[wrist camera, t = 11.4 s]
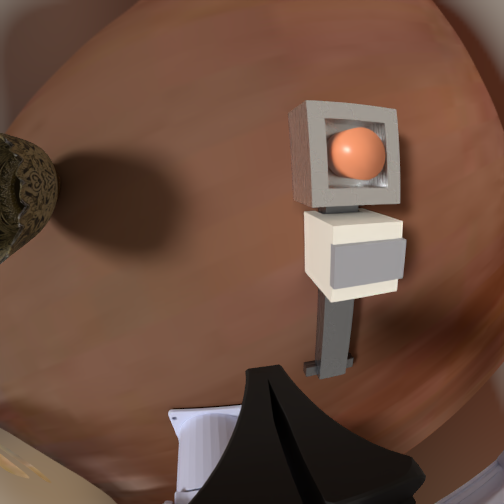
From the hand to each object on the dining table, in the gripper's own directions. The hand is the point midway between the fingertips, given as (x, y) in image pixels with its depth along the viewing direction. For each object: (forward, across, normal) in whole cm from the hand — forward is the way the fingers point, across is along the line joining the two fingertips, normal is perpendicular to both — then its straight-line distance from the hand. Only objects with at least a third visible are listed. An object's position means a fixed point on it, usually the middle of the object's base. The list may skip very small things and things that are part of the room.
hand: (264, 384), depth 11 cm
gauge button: (+8, -7, -9) cm, 14 cm away
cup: (+11, +14, -9) cm, 20 cm away
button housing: (+10, -7, -9) cm, 15 cm away
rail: (+10, -7, +2) cm, 13 cm away
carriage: (+10, -7, -3) cm, 13 cm away
